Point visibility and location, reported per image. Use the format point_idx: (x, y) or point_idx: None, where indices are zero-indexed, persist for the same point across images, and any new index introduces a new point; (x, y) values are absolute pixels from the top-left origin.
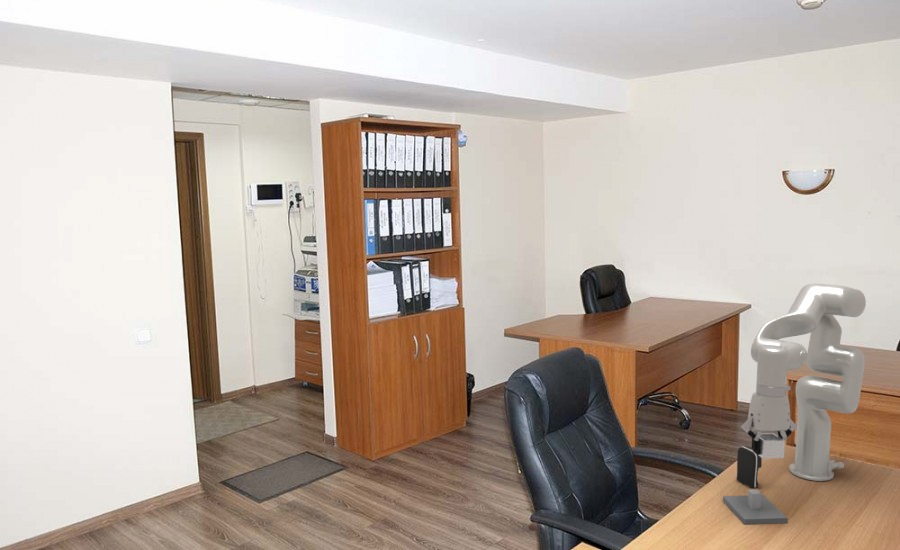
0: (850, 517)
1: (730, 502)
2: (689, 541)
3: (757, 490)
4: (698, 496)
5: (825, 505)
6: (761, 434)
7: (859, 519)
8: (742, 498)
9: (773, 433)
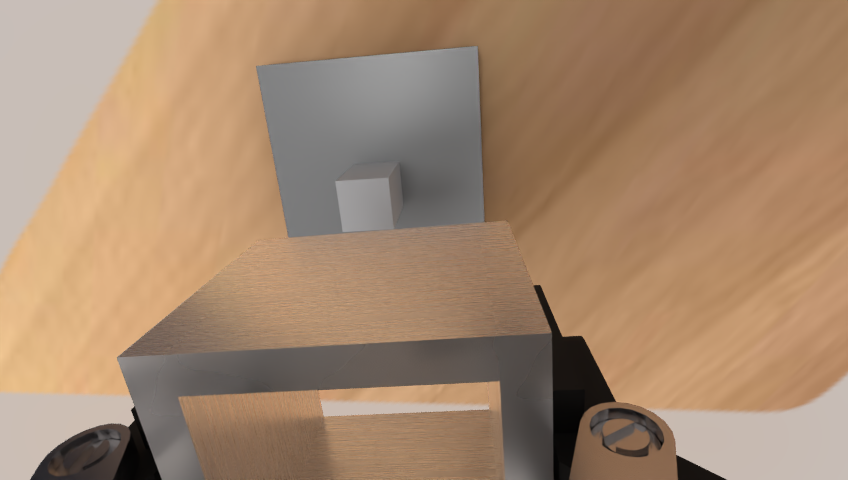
0: (800, 231)
1: (278, 141)
2: (94, 389)
3: (385, 190)
4: (155, 12)
5: (771, 109)
6: (275, 386)
7: (826, 249)
8: (351, 93)
9: (530, 363)
